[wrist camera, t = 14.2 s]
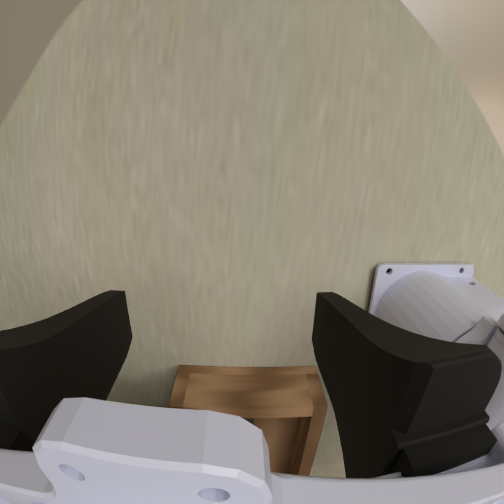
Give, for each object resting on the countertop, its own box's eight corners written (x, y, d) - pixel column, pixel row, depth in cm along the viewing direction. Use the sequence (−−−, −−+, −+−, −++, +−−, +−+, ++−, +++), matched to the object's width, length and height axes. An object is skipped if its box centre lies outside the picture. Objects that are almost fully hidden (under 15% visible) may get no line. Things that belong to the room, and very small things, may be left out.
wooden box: (315, 365, 25) (327, 405, 20) (295, 471, 30) (299, 505, 25) (179, 364, 25) (168, 405, 20) (196, 470, 30) (192, 504, 25)
